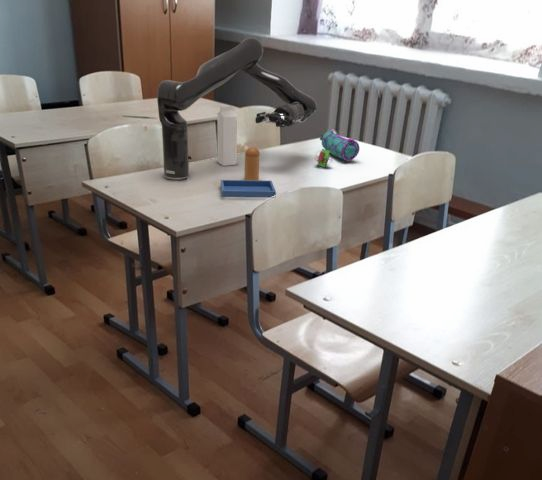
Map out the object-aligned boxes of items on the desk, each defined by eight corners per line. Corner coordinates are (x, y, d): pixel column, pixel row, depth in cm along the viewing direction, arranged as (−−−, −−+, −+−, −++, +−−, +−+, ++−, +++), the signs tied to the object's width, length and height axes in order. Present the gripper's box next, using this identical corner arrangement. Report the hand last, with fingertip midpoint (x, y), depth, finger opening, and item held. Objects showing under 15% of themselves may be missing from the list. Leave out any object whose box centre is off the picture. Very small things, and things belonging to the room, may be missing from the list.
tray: (220, 187, 217) (220, 179, 215) (271, 188, 219) (271, 180, 217) (222, 198, 206) (222, 190, 205) (275, 199, 208) (275, 191, 207)
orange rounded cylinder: (243, 179, 226) (244, 145, 219) (257, 179, 227) (259, 145, 220) (244, 183, 222) (245, 149, 215) (259, 184, 222) (260, 149, 215)
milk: (217, 162, 244) (216, 105, 232) (230, 160, 246) (231, 104, 235) (223, 166, 240) (222, 108, 228) (236, 164, 242) (237, 107, 230)
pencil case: (318, 150, 268) (320, 128, 263) (335, 149, 271) (337, 127, 266) (341, 163, 252) (344, 139, 247) (359, 161, 255) (362, 138, 250)
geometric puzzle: (325, 156, 251) (319, 142, 245) (337, 160, 247) (332, 146, 241) (315, 169, 250) (309, 155, 243) (328, 173, 246) (322, 159, 240)
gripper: (301, 128, 232) (282, 135, 220) (270, 122, 238) (249, 129, 225) (303, 107, 228) (284, 114, 216) (271, 102, 234) (250, 108, 221)
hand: (266, 122), depth 221 cm, fingers open, 8 cm apart
